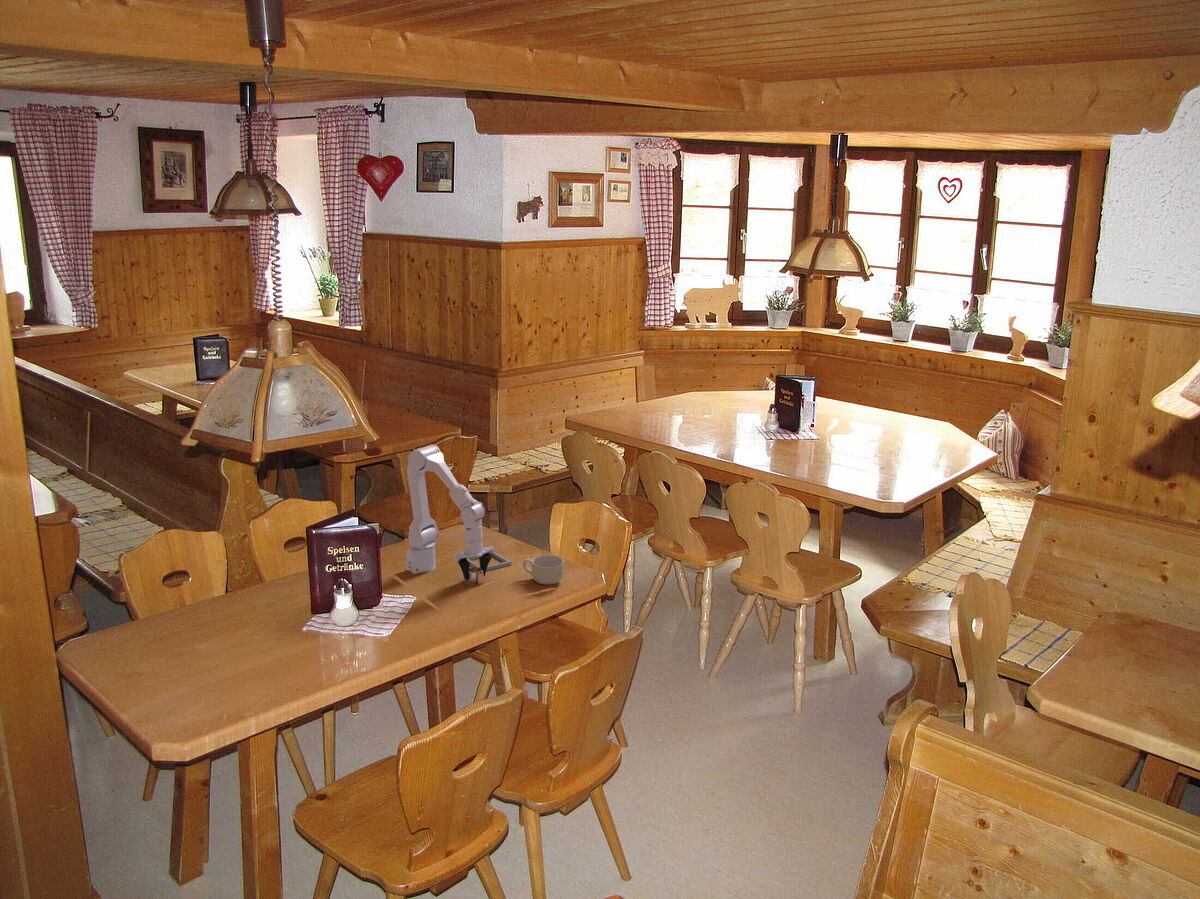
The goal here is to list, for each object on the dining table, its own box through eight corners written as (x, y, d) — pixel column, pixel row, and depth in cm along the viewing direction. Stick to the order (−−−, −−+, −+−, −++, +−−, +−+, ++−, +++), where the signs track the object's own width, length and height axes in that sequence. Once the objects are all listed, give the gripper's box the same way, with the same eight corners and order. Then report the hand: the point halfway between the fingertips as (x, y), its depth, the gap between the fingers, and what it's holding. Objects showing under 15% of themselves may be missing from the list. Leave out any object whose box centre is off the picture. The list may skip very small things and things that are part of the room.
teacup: (569, 579, 333) (569, 557, 331) (554, 591, 324) (554, 568, 322) (533, 572, 339) (532, 551, 337) (517, 583, 329) (517, 561, 327)
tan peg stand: (469, 588, 325) (469, 573, 324) (458, 580, 332) (458, 565, 330) (491, 582, 330) (490, 568, 329) (479, 575, 336) (479, 560, 335)
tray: (481, 574, 337) (481, 568, 337) (463, 562, 347) (463, 557, 347) (511, 567, 344) (511, 561, 343) (493, 555, 354) (492, 550, 354)
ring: (473, 585, 326) (473, 575, 325) (463, 578, 331) (462, 568, 330) (488, 581, 329) (488, 571, 328) (477, 574, 334) (477, 565, 334)
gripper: (459, 546, 320) (460, 585, 323) (498, 537, 328) (499, 576, 331) (449, 540, 325) (450, 578, 329) (488, 532, 333) (489, 569, 337)
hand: (474, 577), depth 330 cm, fingers closed on ring, 6 cm apart
